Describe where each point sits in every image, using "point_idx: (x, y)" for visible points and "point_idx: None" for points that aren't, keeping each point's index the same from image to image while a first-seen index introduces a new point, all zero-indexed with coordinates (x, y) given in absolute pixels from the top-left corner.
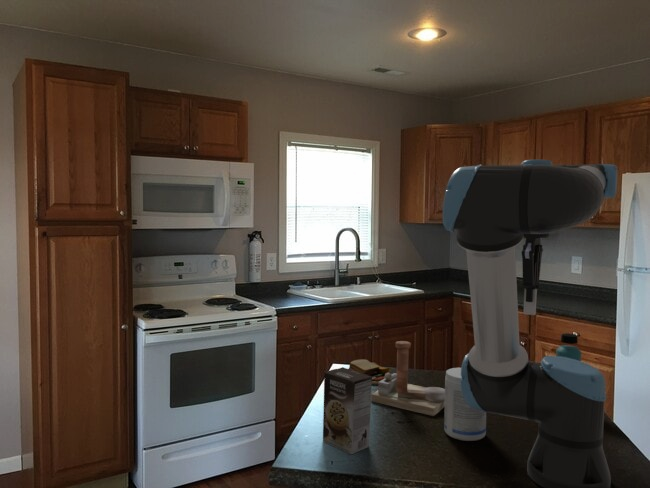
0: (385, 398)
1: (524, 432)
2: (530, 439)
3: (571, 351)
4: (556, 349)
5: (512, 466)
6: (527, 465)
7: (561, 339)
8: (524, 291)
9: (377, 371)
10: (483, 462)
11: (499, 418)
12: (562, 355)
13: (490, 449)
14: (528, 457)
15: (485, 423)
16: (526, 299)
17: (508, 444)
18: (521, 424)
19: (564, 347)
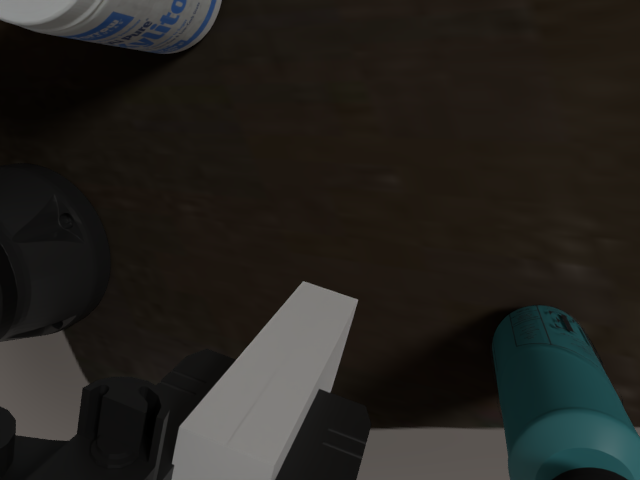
0: None
1: (252, 172)
2: (208, 185)
3: (520, 478)
4: (591, 415)
5: (37, 130)
6: (8, 165)
7: (586, 478)
8: (202, 400)
9: None
10: (24, 58)
11: (340, 94)
12: (525, 422)
13: (100, 73)
14: (15, 169)
15: (134, 49)
16: (182, 365)
17: (151, 122)
18: (312, 167)
19: (566, 462)
